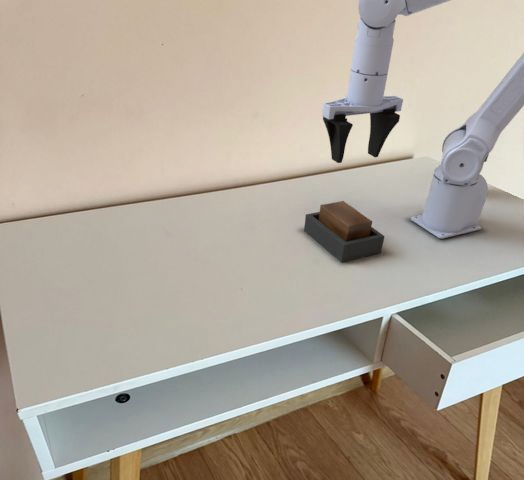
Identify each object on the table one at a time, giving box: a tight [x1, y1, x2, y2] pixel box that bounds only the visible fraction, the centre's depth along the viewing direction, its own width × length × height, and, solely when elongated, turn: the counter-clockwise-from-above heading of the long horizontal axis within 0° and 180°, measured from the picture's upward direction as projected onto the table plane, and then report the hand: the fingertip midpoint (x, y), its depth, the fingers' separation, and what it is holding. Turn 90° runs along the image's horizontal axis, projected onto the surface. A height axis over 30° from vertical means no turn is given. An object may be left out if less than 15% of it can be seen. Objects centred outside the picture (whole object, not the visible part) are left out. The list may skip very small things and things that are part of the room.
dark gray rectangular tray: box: [303, 211, 386, 263], centre depth 90 cm, size 8×11×3 cm
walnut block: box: [319, 200, 373, 242], centre depth 89 cm, size 4×8×4 cm, turn 28°
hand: (354, 158), depth 94 cm, fingers open, 7 cm apart
